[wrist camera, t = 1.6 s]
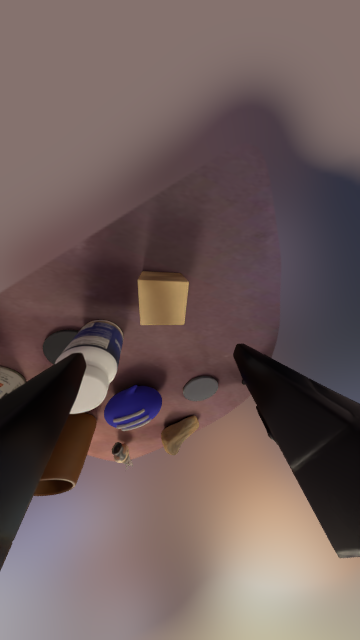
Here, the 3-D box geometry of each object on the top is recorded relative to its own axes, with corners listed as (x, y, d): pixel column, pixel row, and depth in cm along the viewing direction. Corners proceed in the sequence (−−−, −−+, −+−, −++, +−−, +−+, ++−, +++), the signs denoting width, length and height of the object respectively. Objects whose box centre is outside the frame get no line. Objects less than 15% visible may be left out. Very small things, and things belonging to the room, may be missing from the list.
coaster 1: (99, 328, 20) (97, 330, 20) (108, 367, 24) (107, 370, 23) (35, 329, 19) (32, 331, 18) (55, 371, 22) (53, 373, 22)
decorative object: (157, 408, 20) (165, 429, 26) (157, 372, 25) (164, 397, 31) (83, 420, 19) (109, 438, 25) (98, 380, 24) (116, 404, 30)
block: (180, 273, 18) (189, 281, 14) (178, 307, 20) (184, 324, 16) (142, 270, 17) (137, 279, 13) (143, 307, 19) (140, 325, 15)
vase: (111, 483, 30) (118, 454, 31) (101, 464, 34) (108, 438, 34) (132, 468, 34) (138, 443, 35) (122, 452, 38) (127, 429, 38)
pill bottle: (121, 353, 22) (109, 415, 13) (80, 350, 20) (34, 421, 11) (126, 321, 20) (115, 371, 11) (81, 315, 18) (27, 369, 10)
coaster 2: (220, 374, 29) (221, 376, 29) (213, 397, 33) (214, 399, 33) (184, 377, 28) (185, 379, 28) (181, 400, 32) (181, 402, 31)
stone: (162, 444, 30) (201, 421, 34) (156, 423, 34) (191, 404, 38) (168, 463, 34) (202, 440, 37) (162, 441, 38) (193, 423, 41)
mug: (32, 405, 25) (-28, 482, 17) (72, 394, 25) (32, 464, 17) (71, 433, 31) (42, 499, 23) (104, 423, 31) (86, 486, 23)
